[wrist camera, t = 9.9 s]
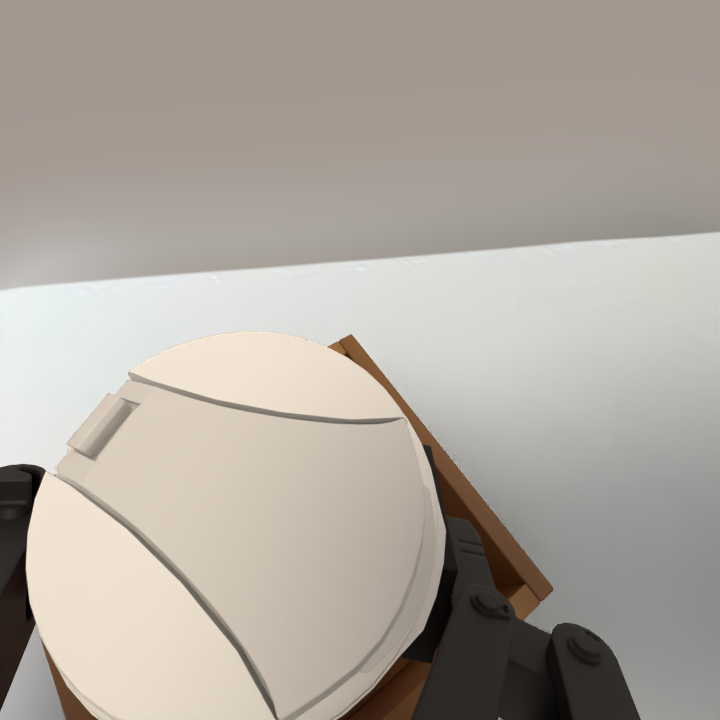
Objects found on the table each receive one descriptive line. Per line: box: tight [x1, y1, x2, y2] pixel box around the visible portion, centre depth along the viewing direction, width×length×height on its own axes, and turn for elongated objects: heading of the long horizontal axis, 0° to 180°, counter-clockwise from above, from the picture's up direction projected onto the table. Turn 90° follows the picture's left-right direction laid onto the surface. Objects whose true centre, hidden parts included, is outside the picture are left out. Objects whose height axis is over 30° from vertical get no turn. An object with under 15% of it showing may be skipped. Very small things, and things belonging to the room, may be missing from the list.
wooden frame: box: [41, 334, 553, 720], centre depth 18 cm, size 16×14×4 cm
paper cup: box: [26, 331, 446, 720], centre depth 14 cm, size 8×8×14 cm
